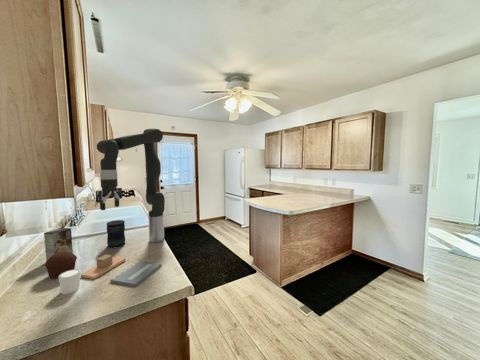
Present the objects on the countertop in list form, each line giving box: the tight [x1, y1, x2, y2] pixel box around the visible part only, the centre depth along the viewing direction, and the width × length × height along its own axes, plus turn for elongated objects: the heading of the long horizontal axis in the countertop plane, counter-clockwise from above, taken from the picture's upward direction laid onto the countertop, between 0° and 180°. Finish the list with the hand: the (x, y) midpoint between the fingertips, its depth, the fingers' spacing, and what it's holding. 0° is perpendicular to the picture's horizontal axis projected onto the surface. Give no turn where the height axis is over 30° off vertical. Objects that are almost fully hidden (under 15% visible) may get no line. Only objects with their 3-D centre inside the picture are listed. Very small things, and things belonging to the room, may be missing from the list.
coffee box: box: [43, 227, 74, 262], centre depth 107 cm, size 9×6×16 cm
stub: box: [80, 254, 127, 280], centre depth 98 cm, size 18×8×6 cm, turn 167°
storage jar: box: [106, 219, 126, 249], centre depth 126 cm, size 10×10×15 cm
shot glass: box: [58, 268, 81, 295], centre depth 81 cm, size 7×7×7 cm
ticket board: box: [109, 260, 162, 288], centre depth 94 cm, size 18×13×1 cm
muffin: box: [43, 252, 77, 280], centre depth 93 cm, size 12×11×10 cm
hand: (110, 208), depth 106 cm, fingers open, 8 cm apart
